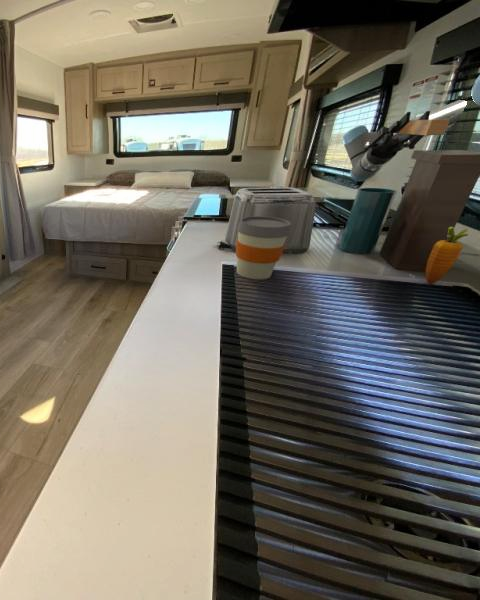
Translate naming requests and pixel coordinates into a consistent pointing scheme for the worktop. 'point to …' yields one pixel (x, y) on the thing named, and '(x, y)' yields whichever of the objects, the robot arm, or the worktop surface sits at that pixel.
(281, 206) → the toaster
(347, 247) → the tall cup
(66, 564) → the worktop surface
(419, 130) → the oak bar
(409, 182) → the walnut stand
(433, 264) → the carrot
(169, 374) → the worktop surface
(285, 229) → the reusable coffee cup
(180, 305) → the worktop surface
